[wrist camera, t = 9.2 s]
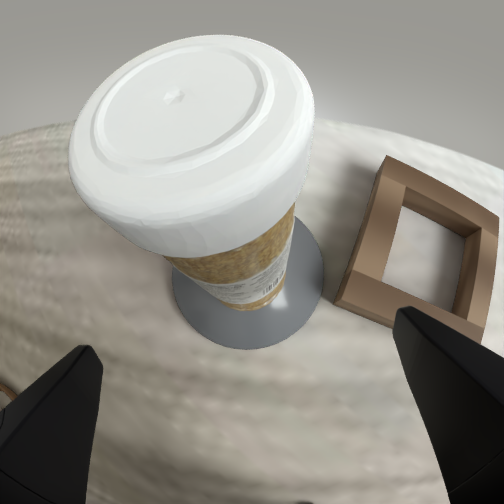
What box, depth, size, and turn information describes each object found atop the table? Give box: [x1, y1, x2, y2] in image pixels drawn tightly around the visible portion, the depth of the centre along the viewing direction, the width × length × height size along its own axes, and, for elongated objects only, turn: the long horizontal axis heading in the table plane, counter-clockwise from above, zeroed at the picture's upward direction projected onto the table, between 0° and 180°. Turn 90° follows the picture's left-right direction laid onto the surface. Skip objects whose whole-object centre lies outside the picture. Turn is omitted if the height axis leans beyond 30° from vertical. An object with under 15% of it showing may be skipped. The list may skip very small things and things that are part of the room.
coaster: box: [172, 217, 324, 350], centre depth 17 cm, size 9×9×1 cm
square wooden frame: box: [333, 155, 499, 344], centre depth 16 cm, size 10×10×2 cm
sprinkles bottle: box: [68, 35, 315, 311], centre depth 11 cm, size 5×5×13 cm
